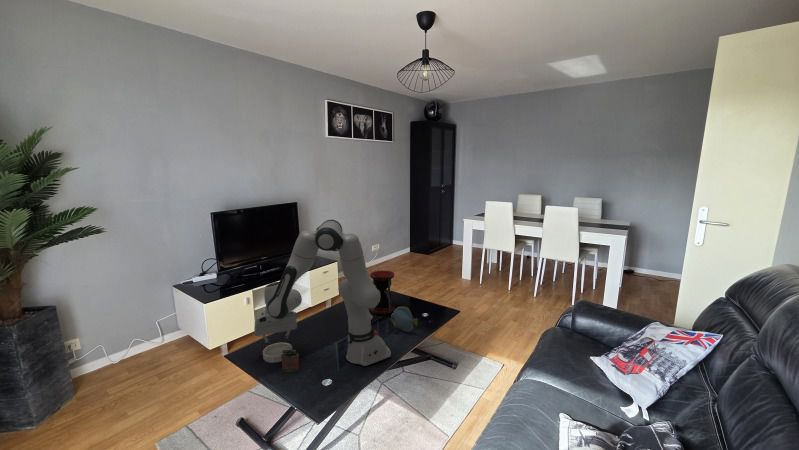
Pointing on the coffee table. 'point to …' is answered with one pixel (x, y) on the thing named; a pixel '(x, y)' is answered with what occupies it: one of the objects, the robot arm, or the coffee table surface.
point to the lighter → (290, 360)
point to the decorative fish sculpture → (403, 319)
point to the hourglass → (382, 283)
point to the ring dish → (275, 352)
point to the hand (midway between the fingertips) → (276, 340)
